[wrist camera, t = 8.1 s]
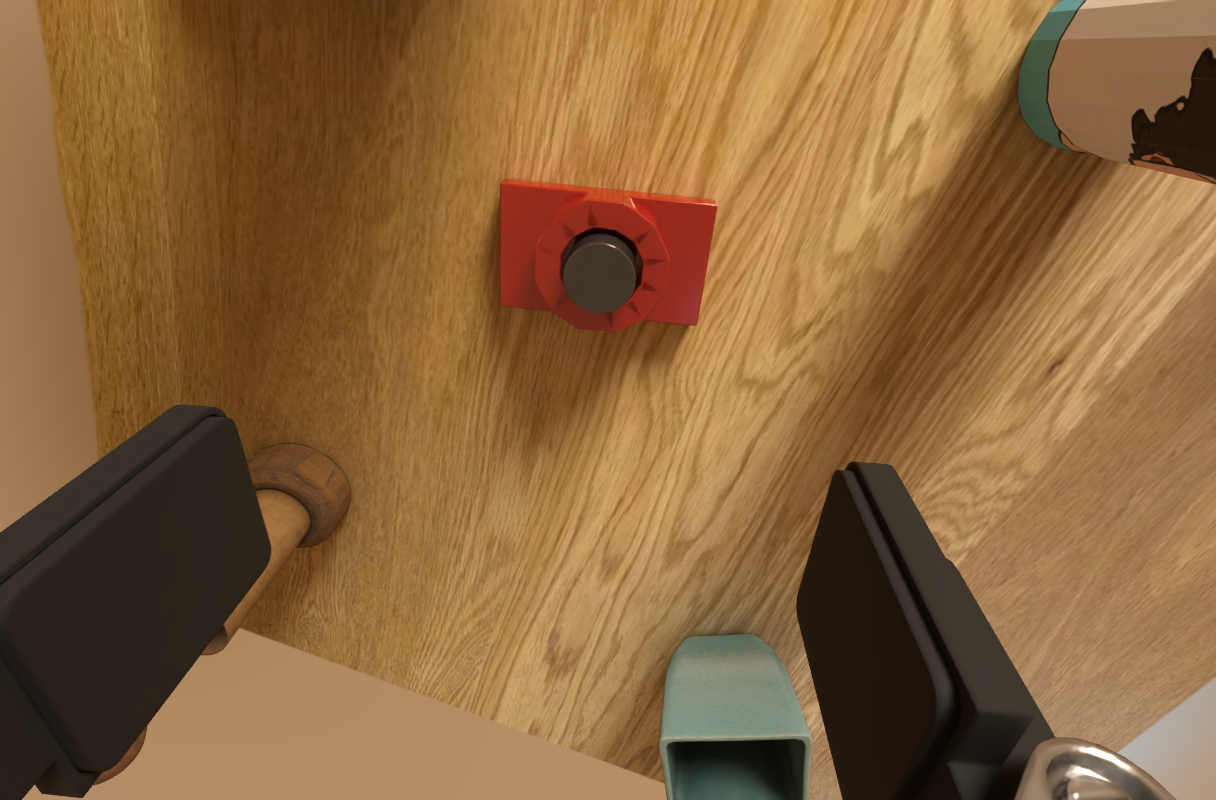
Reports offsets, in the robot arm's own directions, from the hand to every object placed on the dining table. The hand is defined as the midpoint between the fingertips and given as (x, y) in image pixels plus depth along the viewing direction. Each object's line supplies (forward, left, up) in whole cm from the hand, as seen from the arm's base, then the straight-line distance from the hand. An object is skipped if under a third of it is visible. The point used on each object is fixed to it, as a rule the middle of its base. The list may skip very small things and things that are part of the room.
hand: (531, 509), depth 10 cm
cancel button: (0, -2, -20) cm, 20 cm away
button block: (0, -2, -23) cm, 23 cm away
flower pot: (+11, -31, -23) cm, 40 cm away
